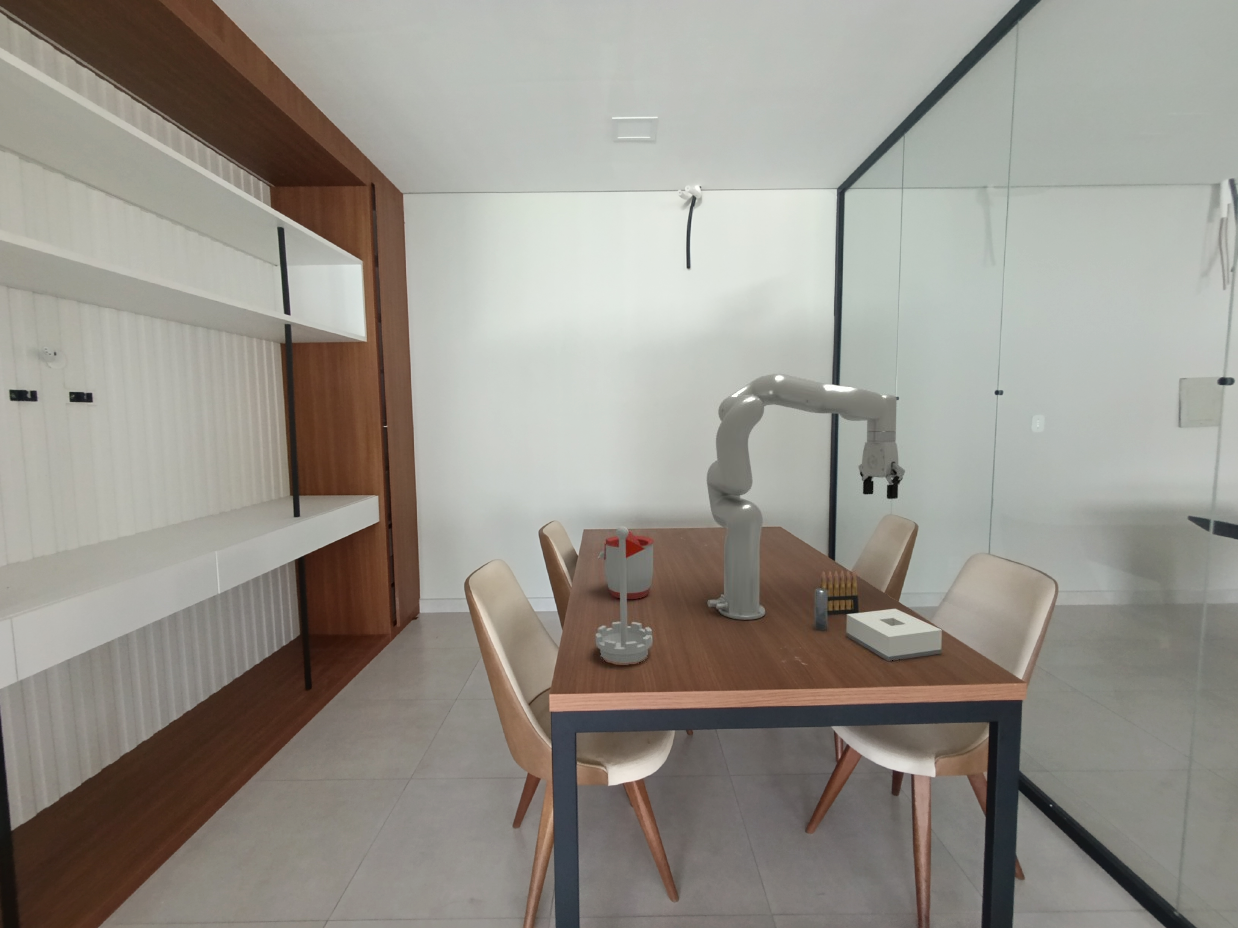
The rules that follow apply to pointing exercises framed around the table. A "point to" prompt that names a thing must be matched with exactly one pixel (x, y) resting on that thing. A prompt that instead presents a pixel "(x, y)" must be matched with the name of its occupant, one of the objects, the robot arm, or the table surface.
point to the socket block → (894, 634)
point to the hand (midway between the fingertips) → (879, 496)
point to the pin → (821, 609)
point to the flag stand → (624, 618)
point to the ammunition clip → (841, 593)
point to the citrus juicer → (629, 567)
